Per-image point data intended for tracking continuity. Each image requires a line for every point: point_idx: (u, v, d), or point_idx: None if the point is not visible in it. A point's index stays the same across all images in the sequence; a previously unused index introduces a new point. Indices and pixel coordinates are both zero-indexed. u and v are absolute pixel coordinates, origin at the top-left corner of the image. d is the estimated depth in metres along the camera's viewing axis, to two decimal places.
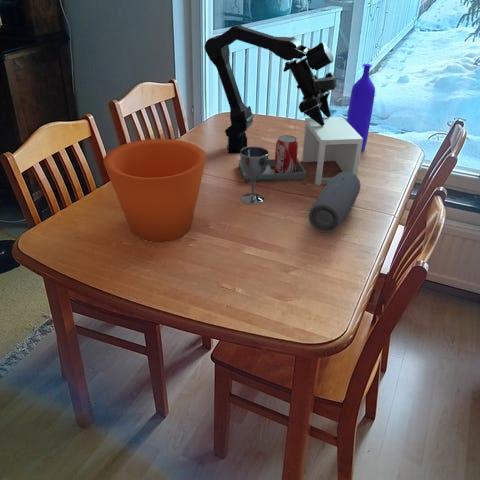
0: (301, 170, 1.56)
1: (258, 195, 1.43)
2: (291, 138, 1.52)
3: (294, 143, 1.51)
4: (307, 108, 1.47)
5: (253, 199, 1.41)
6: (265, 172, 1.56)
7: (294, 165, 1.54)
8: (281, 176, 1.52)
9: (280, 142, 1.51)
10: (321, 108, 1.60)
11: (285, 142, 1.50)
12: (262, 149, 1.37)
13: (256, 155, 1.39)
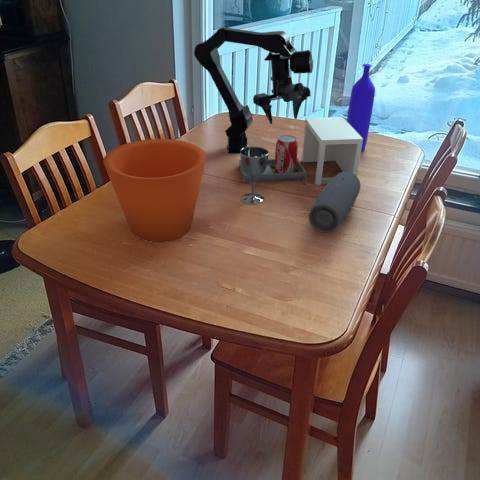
0: (301, 170, 1.56)
1: (258, 195, 1.43)
2: (291, 138, 1.52)
3: (294, 143, 1.51)
4: (255, 103, 1.57)
5: (253, 199, 1.41)
6: (265, 172, 1.56)
7: (294, 165, 1.54)
8: (281, 176, 1.52)
9: (280, 142, 1.51)
10: (293, 107, 1.63)
11: (285, 142, 1.50)
12: (262, 149, 1.37)
13: (256, 155, 1.39)
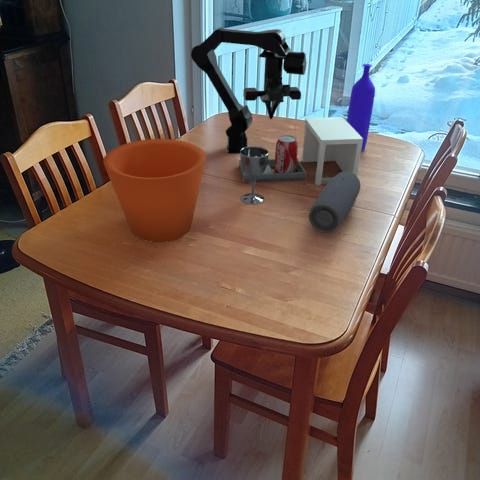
0: (301, 170, 1.56)
1: (258, 195, 1.43)
2: (291, 138, 1.52)
3: (294, 143, 1.51)
4: (244, 96, 1.59)
5: (253, 199, 1.41)
6: (265, 172, 1.56)
7: (294, 165, 1.54)
8: (281, 176, 1.52)
9: (280, 142, 1.51)
10: (271, 107, 1.63)
11: (285, 142, 1.50)
12: (262, 149, 1.37)
13: (256, 155, 1.39)
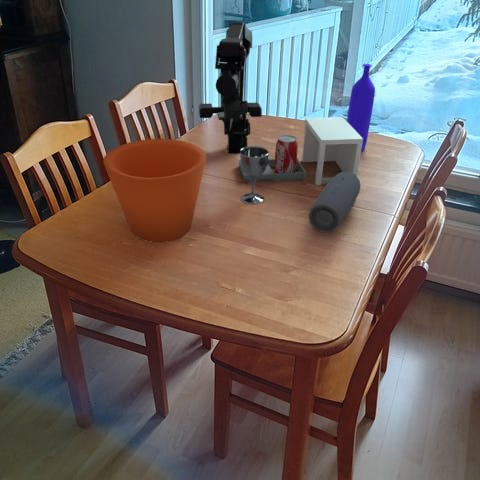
0: (301, 170, 1.56)
1: (258, 195, 1.43)
2: (291, 138, 1.52)
3: (294, 143, 1.51)
4: None
5: (253, 199, 1.41)
6: (265, 172, 1.56)
7: (294, 165, 1.54)
8: (281, 176, 1.52)
9: (280, 142, 1.51)
10: (230, 124, 1.48)
11: (285, 142, 1.50)
12: (262, 149, 1.37)
13: (256, 155, 1.39)
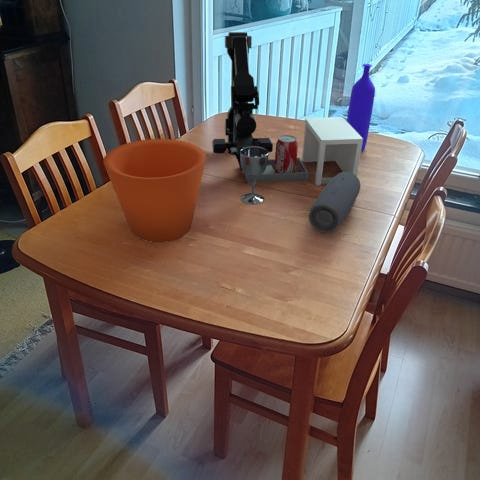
0: (303, 170, 1.56)
1: (258, 195, 1.43)
2: (291, 138, 1.52)
3: (294, 143, 1.51)
4: None
5: (253, 199, 1.41)
6: (267, 172, 1.56)
7: (294, 165, 1.54)
8: (283, 176, 1.52)
9: (280, 142, 1.51)
10: None
11: (285, 142, 1.50)
12: (262, 149, 1.37)
13: (256, 155, 1.39)
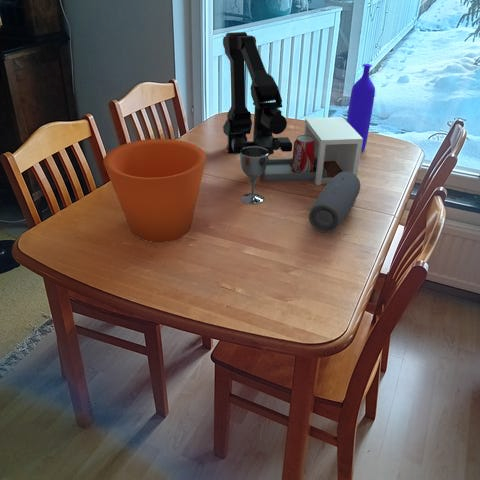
0: None
1: (258, 195, 1.43)
2: (309, 138, 1.53)
3: (311, 143, 1.51)
4: (232, 147, 1.51)
5: (253, 199, 1.41)
6: (286, 171, 1.57)
7: (311, 165, 1.55)
8: (302, 175, 1.53)
9: (297, 142, 1.51)
10: None
11: (302, 142, 1.50)
12: (262, 149, 1.37)
13: (256, 155, 1.39)
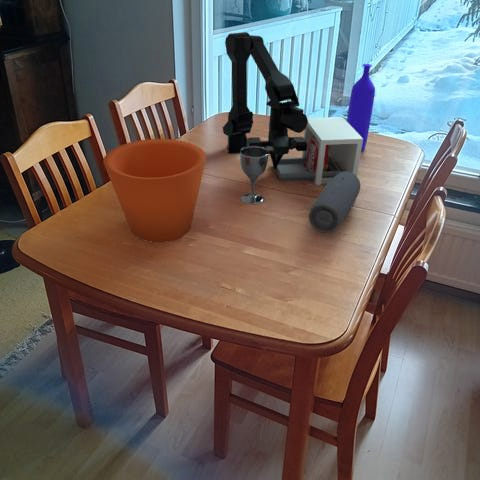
0: (336, 169, 1.57)
1: (258, 195, 1.43)
2: None
3: None
4: (247, 146, 1.52)
5: (253, 199, 1.41)
6: (300, 171, 1.57)
7: (325, 165, 1.55)
8: None
9: (312, 141, 1.52)
10: (275, 157, 1.56)
11: (316, 141, 1.51)
12: (262, 149, 1.37)
13: (256, 155, 1.39)
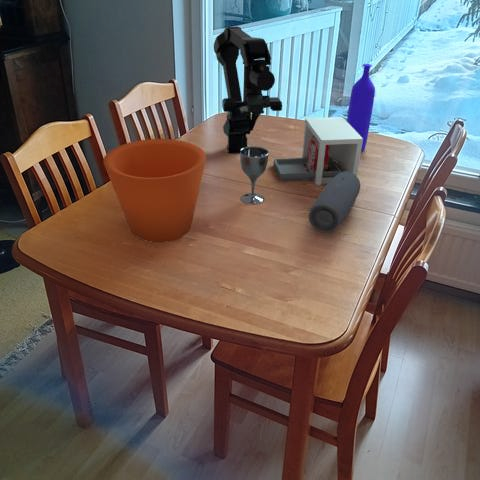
0: (336, 169, 1.57)
1: (258, 195, 1.43)
2: None
3: None
4: (222, 107, 1.52)
5: (253, 199, 1.41)
6: (300, 171, 1.57)
7: (325, 165, 1.55)
8: None
9: (312, 141, 1.52)
10: (251, 118, 1.56)
11: (317, 141, 1.51)
12: (262, 149, 1.37)
13: (256, 155, 1.39)
